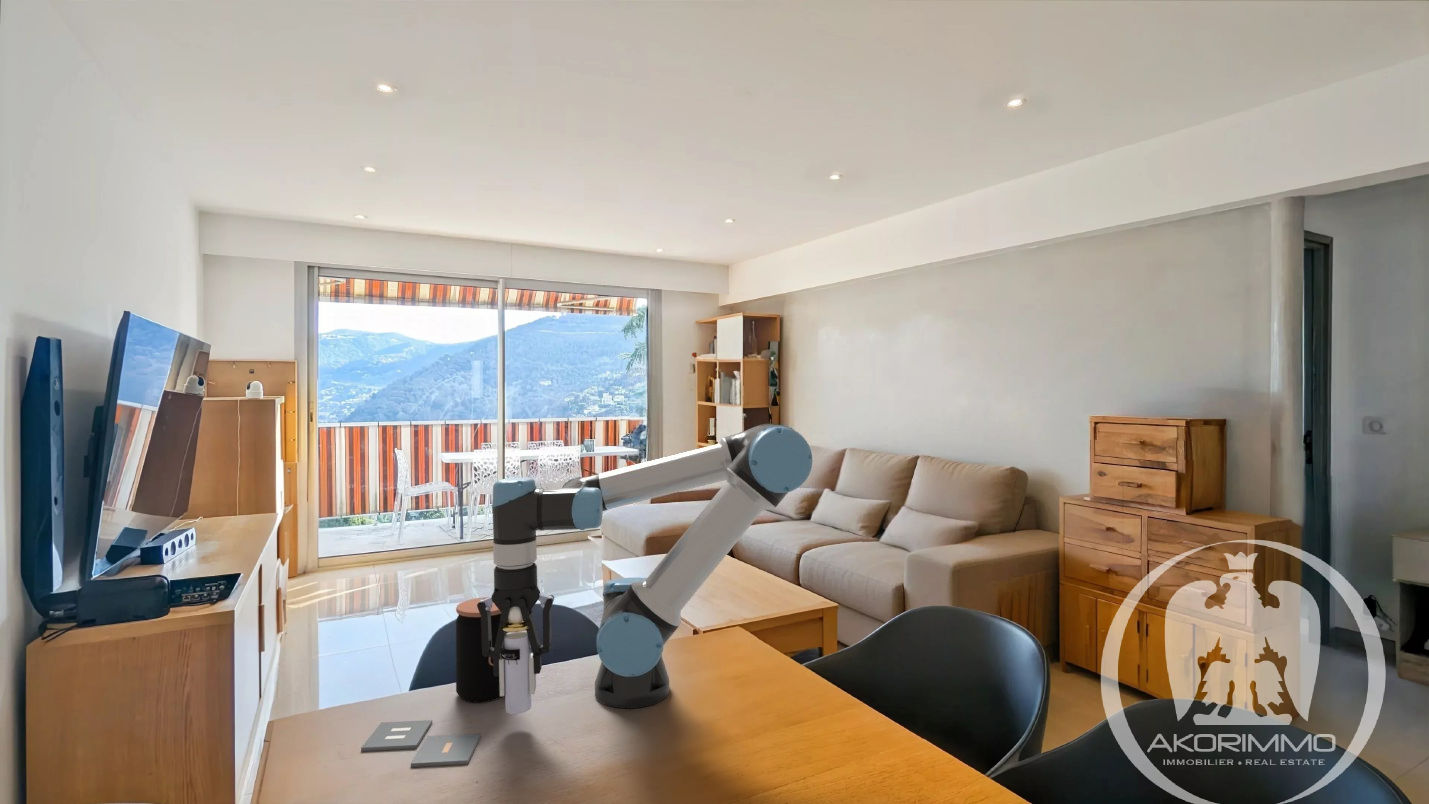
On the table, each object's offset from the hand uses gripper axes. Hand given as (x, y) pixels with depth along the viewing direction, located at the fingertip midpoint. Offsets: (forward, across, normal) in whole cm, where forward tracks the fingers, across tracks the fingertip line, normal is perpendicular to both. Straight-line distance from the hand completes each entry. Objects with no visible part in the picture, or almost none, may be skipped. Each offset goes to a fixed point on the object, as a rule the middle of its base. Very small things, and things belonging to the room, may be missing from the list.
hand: (518, 691), depth 124 cm
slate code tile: (+6, +21, +1) cm, 22 cm away
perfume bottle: (+4, 0, 0) cm, 4 cm away
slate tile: (+6, +11, +7) cm, 14 cm away
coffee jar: (+7, +10, -16) cm, 20 cm away
